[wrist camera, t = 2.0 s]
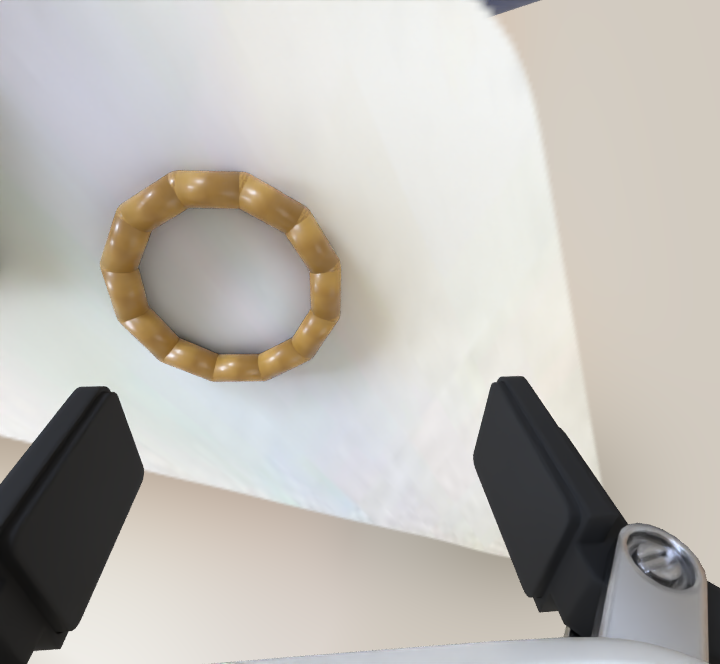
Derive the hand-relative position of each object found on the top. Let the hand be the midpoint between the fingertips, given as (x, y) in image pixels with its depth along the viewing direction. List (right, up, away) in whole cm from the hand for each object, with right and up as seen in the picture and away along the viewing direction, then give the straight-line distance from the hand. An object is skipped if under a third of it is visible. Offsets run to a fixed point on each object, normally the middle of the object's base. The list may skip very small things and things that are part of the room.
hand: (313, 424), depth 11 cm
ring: (-4, +4, +5) cm, 8 cm away
